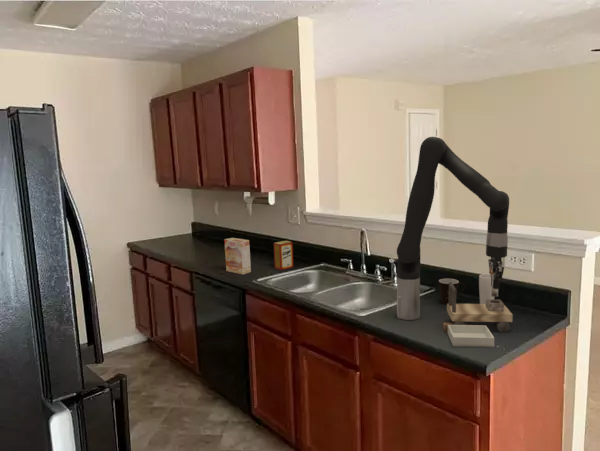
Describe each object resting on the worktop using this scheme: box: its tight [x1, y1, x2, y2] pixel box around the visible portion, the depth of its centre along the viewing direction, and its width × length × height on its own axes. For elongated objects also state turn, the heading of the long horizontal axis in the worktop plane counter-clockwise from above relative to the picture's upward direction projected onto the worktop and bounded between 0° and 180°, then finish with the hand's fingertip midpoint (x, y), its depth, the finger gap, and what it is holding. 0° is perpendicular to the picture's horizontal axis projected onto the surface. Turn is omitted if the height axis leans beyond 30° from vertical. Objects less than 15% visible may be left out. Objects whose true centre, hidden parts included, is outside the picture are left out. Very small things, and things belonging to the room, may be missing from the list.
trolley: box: [446, 282, 514, 334], centre depth 188 cm, size 22×12×17 cm, turn 82°
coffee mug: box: [438, 278, 466, 305], centre depth 217 cm, size 12×9×10 cm
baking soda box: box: [273, 240, 294, 271], centre depth 292 cm, size 10×6×16 cm
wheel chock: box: [442, 322, 454, 333], centre depth 186 cm, size 4×3×3 cm
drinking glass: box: [478, 273, 495, 304], centre depth 207 cm, size 7×7×15 cm
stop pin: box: [491, 269, 499, 298], centre depth 186 cm, size 4×4×10 cm
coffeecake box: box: [223, 237, 252, 275], centre depth 286 cm, size 15×7×20 cm, turn 49°
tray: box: [446, 324, 495, 348], centre depth 176 cm, size 14×12×4 cm
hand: (495, 287), depth 186 cm, fingers closed on stop pin, 2 cm apart
